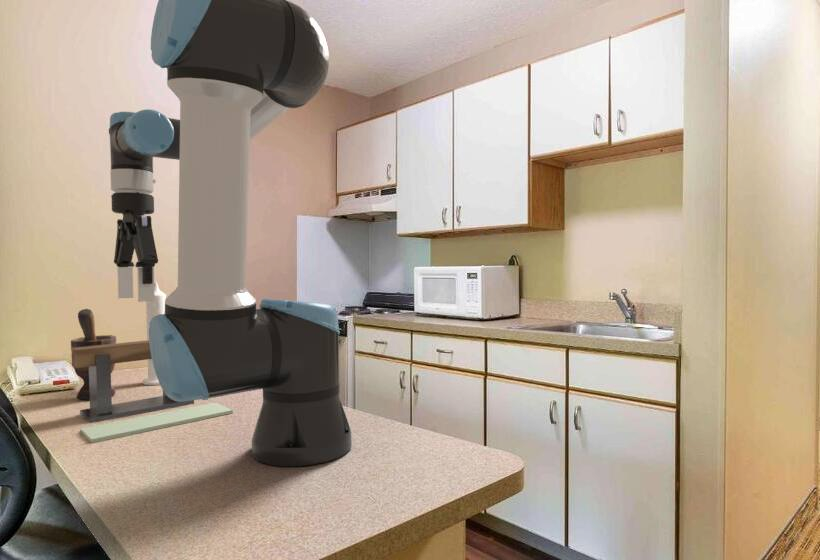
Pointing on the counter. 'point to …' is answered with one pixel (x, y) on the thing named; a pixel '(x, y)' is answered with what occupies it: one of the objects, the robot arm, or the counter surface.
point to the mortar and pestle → (89, 340)
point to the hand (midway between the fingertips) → (135, 299)
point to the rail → (111, 353)
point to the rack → (103, 400)
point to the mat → (153, 422)
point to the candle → (151, 311)
